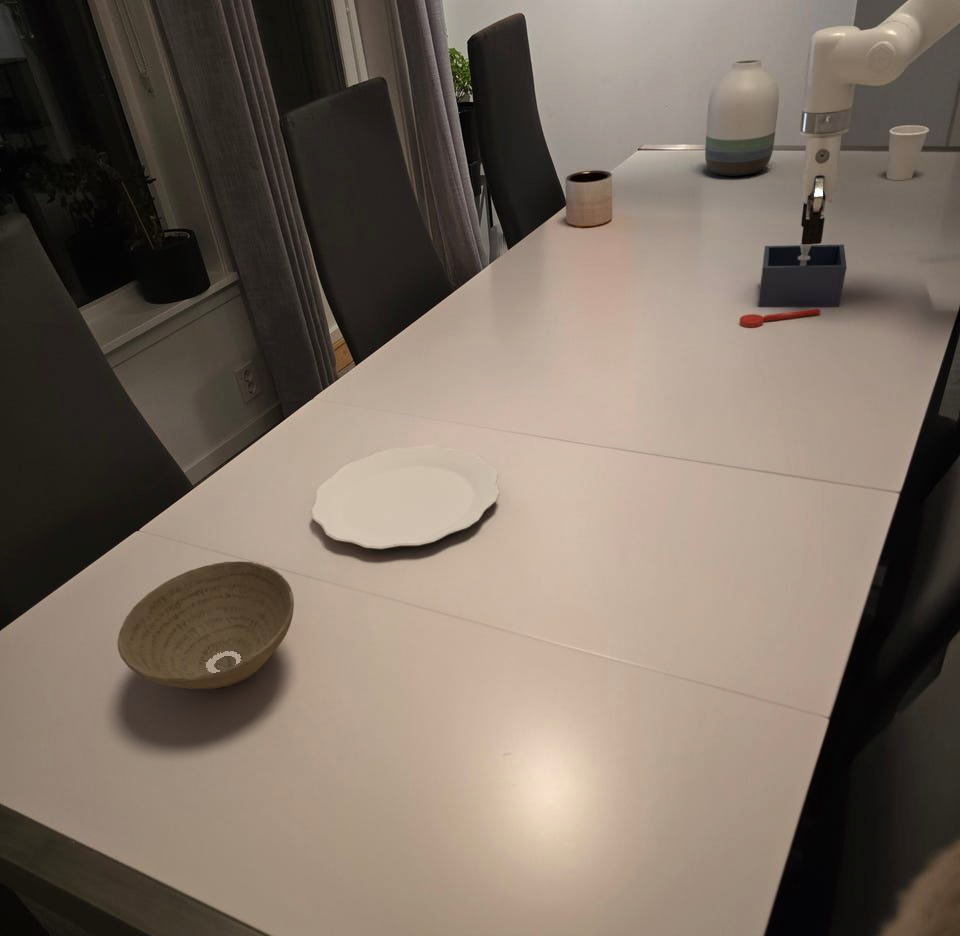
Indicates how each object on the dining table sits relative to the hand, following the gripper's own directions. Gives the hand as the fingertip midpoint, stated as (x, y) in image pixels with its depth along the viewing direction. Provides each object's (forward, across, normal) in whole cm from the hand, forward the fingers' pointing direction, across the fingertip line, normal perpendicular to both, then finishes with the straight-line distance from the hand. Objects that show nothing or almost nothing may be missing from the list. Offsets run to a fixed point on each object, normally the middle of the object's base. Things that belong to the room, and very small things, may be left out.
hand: (810, 234), depth 145 cm
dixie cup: (+11, +76, -22) cm, 80 cm away
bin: (+10, 0, +1) cm, 10 cm away
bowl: (+10, -110, +60) cm, 125 cm away
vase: (+10, +87, +16) cm, 89 cm away
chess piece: (+10, 0, +1) cm, 10 cm away
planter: (+9, +48, +48) cm, 68 cm away
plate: (+10, -76, +51) cm, 92 cm away
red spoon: (+10, -12, +5) cm, 16 cm away
